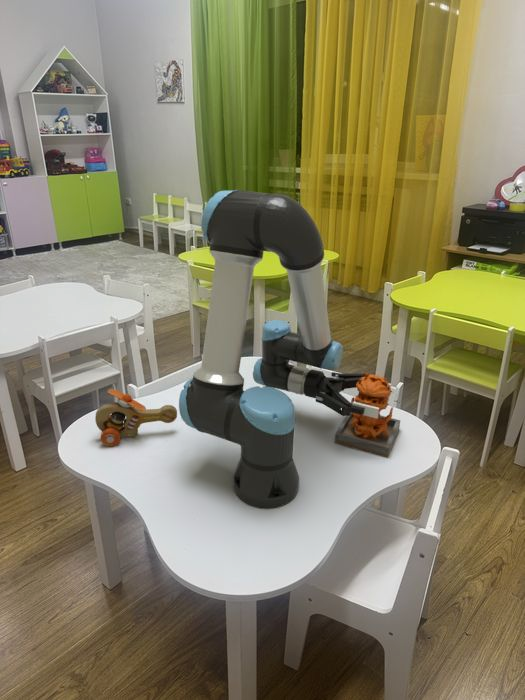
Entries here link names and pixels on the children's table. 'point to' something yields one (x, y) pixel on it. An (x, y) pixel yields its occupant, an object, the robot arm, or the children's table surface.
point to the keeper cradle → (374, 446)
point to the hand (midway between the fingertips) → (384, 400)
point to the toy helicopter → (128, 417)
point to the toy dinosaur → (376, 395)
